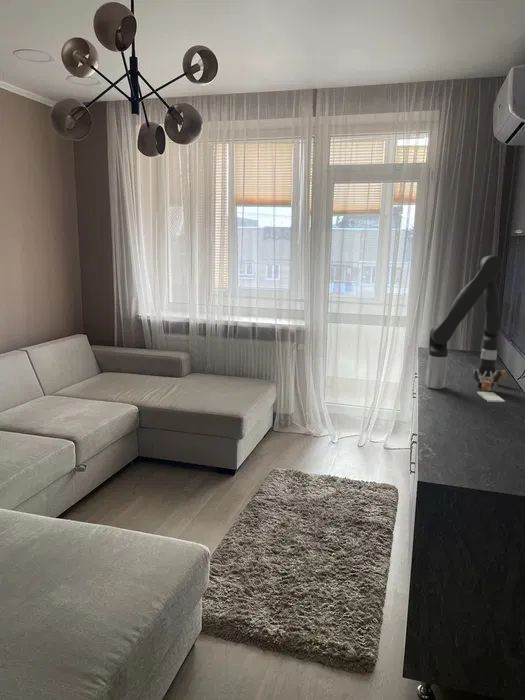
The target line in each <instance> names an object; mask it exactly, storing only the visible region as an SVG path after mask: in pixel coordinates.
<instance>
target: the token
mask: <svg viewBox="0 0 525 700" xmlns="http://www.w3.org/2000/svg"><path fill="white" fill-rule="evenodd" d="M481 383H482V386H481V389H479V390H480V392H489V391H490V392H492V391H491V390H492V389H491V384H492V383H490V381H489V380H487V381H485V380H482V382H481Z"/></svg>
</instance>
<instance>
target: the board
mask: <svg viewBox="0 0 525 700" xmlns="http://www.w3.org/2000/svg"><path fill="white" fill-rule="evenodd" d="M476 393H477V394H478V395H479V396H480V397H481V398H483V399H484V400H485V401H486V400H487V402H490V403H491V402H492V403H505V402H506V400H504V399H503V398H501V396H499V395H498V394H497V393H495V392H494V391H490V392H489V391H476Z"/></svg>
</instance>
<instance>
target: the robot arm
mask: <svg viewBox="0 0 525 700" xmlns="http://www.w3.org/2000/svg"><path fill="white" fill-rule="evenodd" d="M503 263H504V262H503V259H502V258H501V257H500V256H497V255H492V254H491V255H486V256H484V257H483V258H482V259H481V260H480V264H479V266H480V269H479V270H478V272H477V274H476V275H475V276H474V278H473V279H472V280H471V281H470V282H468V283H467V284H466V285H465V286H464V287H463V288H462V289H461V290H460V292H459V293H458V295H456V297H455V299H454V300H453V303H452V304H451V306H450V308H449V311H448V314H447V315H446V317H445V319H443V321H442V322H441V323H440V324H436V325H433V326H432V327H431V329H430V331H429V332H430V333H429V340H428V350H429V351H428V361H427V367H426V368H425V370H426V371H425V379H424V385H425V386H426V387H427V388H429V389H434V390H442V389H444V388H445V385H446V384H445V382H446V371H447V365H448V354H449V351H448V350H449V349H448V342H449V341H450V340H451V338H452V336H453V335H454V333H455V331H456V329H457V328H458V326H459V324H460V323H462V321H463V319H465V318H466V316H467V315H468V313H469V312H470V310H471V309H472V308H473V307H474V306H475V304H476V303H477V302H478V300H479V298H480V297H481V296H482V294H483V296H484V297H483V298H484V299H483V301H484V302H483V304H484V314H485V322H484V326H483V341H482V349H481V352H480V359H479V367H478V368H477V369H475V368H474V369H473V370H472V373H473V378H474V380H475V382H477V388H478V390H480V389H481V386H482V383H481V382H482V381H484V380H485V377H488V378H487V379H488V381H489V382H490V383H492V384H491V390H492V389H493V387H494V386H493V385H494V383H495V382H497V380H498V378H499V376H500V373H501V372H500V370H497V369H496V365H497V358H498V357H497V356H498V345H499V344H498V343H499V341H498V334H499V333H500V331H501V329H502V325H501V324H502V322H501V314H500V309H501V308H500V307H501V306H500V295H499V290H498V286H497V284H498V283H497V275H498V274H499V273H500V272H501V271H502V268H503ZM494 373H495V376H494V378H493V374H494ZM478 374H479V375H478Z"/></svg>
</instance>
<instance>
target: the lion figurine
mask: <svg viewBox="0 0 525 700" xmlns="http://www.w3.org/2000/svg"><path fill="white" fill-rule="evenodd" d="M499 371H500V372H501V373H500V376H499V378H498V380H497V382H494V386H495V387H497V386H499V385H500V383H499V382H501V381H503V380H505V379H506V378H507V376H508V373H507V371H506V370H505V369H501V370H499ZM494 376H495V372H494V374H493V378H494ZM487 379H489V378H488V377H484V381H488V380H487Z"/></svg>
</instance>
